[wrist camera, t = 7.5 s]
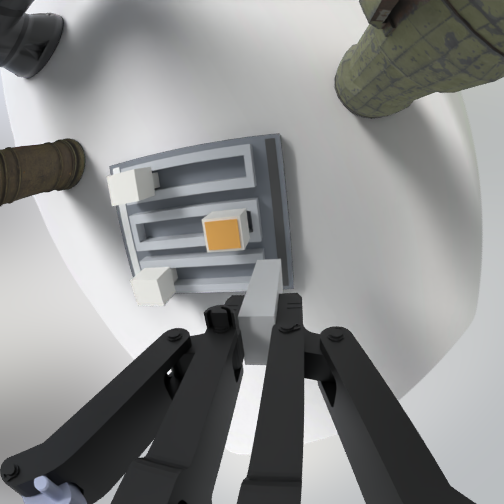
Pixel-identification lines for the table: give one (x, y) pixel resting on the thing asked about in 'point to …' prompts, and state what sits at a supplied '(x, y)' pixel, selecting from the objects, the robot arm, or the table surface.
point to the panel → (201, 216)
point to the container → (39, 169)
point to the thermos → (420, 52)
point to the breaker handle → (226, 230)
